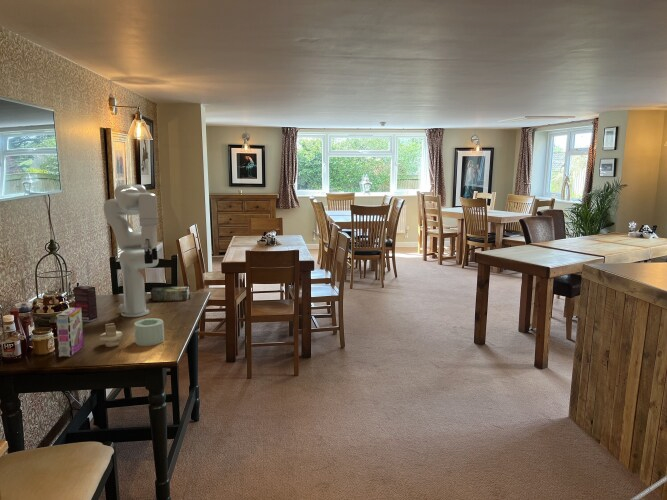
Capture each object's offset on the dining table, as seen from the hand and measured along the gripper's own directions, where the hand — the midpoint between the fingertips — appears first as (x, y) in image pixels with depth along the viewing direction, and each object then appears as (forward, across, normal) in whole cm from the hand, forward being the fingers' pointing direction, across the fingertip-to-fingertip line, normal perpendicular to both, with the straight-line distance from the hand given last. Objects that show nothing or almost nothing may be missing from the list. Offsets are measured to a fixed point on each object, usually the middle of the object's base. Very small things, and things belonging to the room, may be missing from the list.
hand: (151, 261), depth 210 cm
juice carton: (+30, -51, -2) cm, 59 cm away
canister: (+31, +16, +1) cm, 34 cm away
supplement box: (+30, -17, -34) cm, 48 cm away
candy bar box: (+31, +24, -26) cm, 47 cm away
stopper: (+31, +18, -13) cm, 38 cm away
